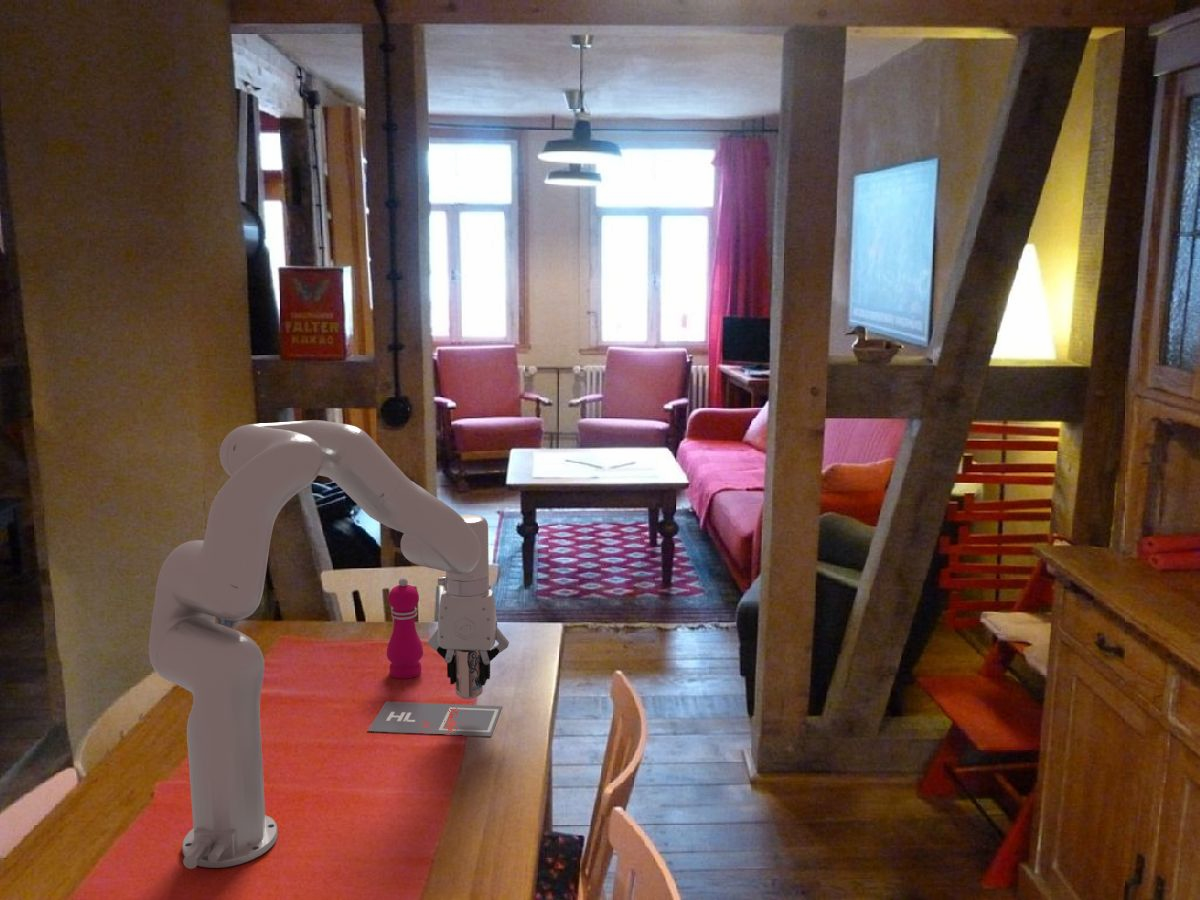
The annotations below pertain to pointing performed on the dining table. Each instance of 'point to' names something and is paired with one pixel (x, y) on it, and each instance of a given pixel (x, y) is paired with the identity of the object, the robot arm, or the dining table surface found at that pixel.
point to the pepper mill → (404, 632)
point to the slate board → (436, 719)
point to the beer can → (468, 673)
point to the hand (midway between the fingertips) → (468, 680)
